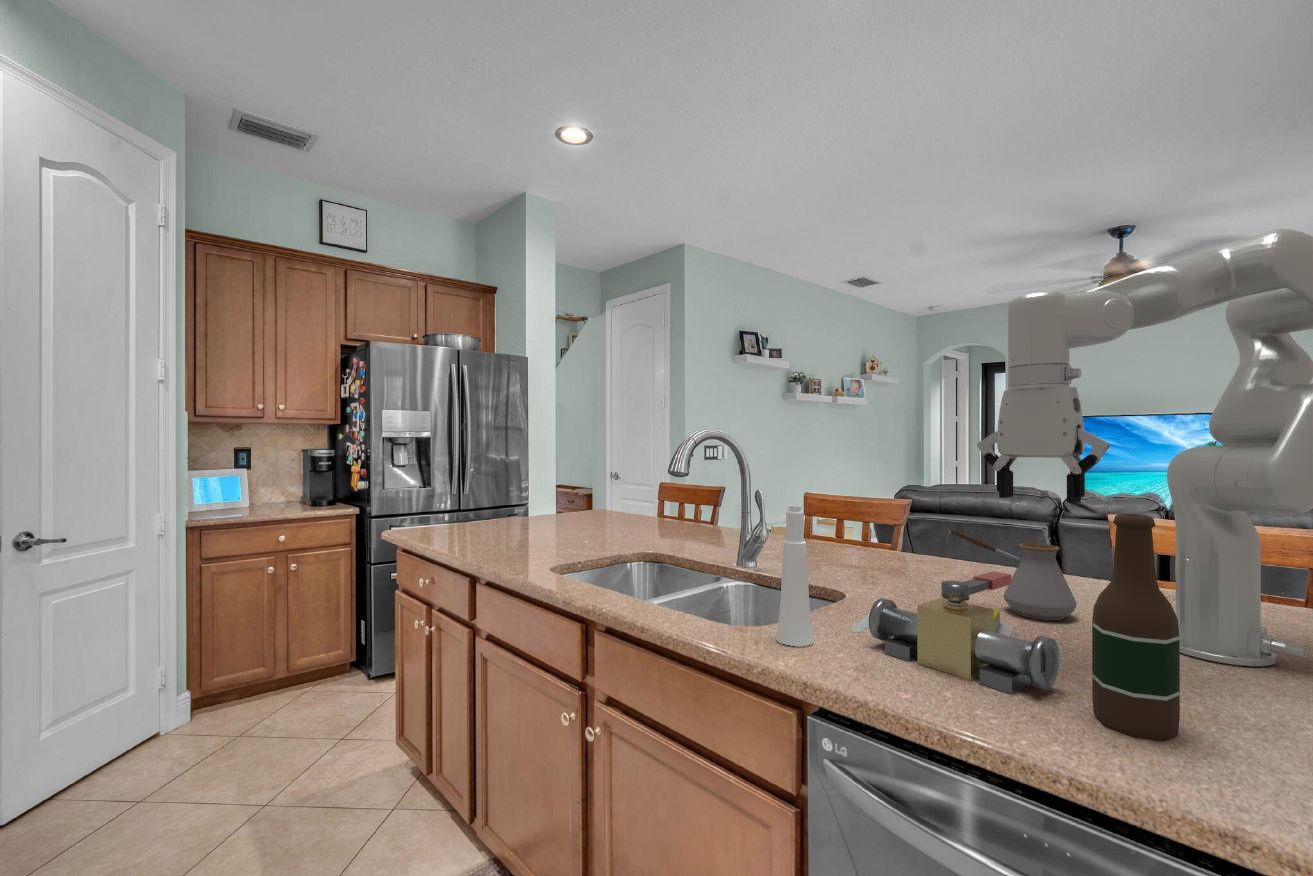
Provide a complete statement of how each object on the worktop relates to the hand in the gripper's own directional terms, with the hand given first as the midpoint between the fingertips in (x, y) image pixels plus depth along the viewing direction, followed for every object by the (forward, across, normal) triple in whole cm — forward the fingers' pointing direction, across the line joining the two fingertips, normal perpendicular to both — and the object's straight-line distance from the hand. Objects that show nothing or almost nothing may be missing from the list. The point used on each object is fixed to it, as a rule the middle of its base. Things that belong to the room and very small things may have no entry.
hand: (1038, 499), depth 86 cm
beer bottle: (+24, -14, +12) cm, 30 cm away
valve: (+24, +7, +11) cm, 27 cm away
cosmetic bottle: (+24, +28, +21) cm, 42 cm away
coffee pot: (+24, +15, -25) cm, 38 cm away
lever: (+14, +7, +4) cm, 16 cm away
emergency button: (+25, +16, -10) cm, 31 cm away
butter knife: (+24, +30, -3) cm, 39 cm away
